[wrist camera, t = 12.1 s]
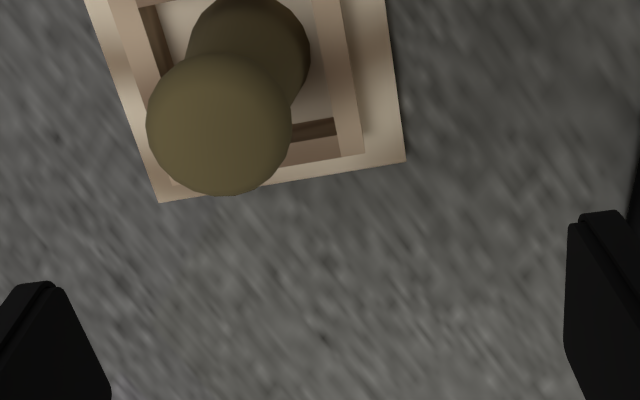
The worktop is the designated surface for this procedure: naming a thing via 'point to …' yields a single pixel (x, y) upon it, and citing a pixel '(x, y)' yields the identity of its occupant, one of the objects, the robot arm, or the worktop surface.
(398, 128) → the holder
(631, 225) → the door handle
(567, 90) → the worktop surface
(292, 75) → the olive tall rounded piece
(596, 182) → the worktop surface
